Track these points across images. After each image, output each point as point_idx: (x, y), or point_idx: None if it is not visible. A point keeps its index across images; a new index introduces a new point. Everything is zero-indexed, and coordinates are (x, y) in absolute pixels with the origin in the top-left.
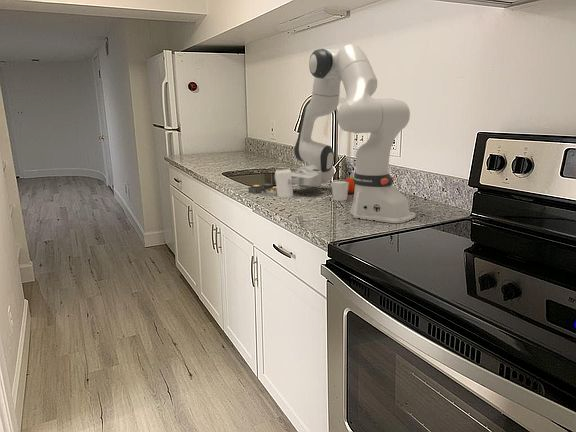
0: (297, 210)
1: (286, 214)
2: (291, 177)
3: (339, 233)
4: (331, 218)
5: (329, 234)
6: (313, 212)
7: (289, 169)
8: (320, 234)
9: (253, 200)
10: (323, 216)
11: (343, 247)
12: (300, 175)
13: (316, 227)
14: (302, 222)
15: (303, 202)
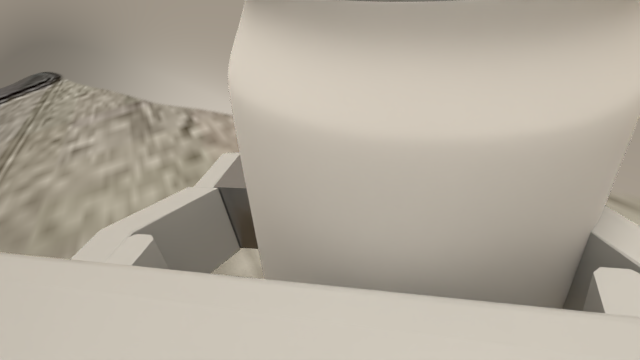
0: (167, 176)
1: (206, 128)
2: (250, 205)
3: (27, 106)
4: (10, 165)
5: (56, 95)
6: (79, 186)
7: (244, 12)
8: (80, 88)
9: (607, 202)
10: (39, 168)
11: (42, 78)
12: (3, 316)
13: (85, 105)
14: (129, 109)
15: None
